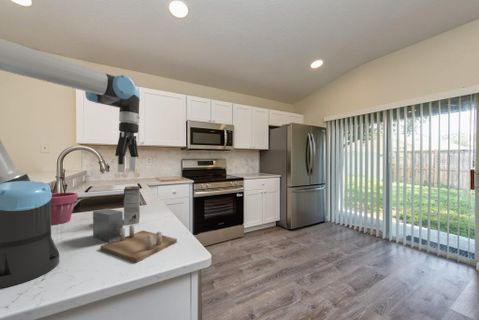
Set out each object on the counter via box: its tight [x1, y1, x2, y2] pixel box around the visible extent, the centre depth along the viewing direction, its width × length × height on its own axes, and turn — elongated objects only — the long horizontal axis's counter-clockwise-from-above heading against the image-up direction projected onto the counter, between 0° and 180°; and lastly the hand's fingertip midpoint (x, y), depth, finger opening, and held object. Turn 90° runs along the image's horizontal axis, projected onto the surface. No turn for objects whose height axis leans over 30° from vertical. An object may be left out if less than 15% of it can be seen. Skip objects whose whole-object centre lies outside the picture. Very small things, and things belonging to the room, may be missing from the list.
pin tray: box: [99, 224, 178, 264], centre depth 70 cm, size 16×18×5 cm
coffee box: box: [123, 185, 141, 226], centre depth 96 cm, size 9×6×16 cm
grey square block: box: [92, 208, 124, 243], centre depth 76 cm, size 5×10×10 cm, turn 63°
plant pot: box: [51, 192, 78, 226], centre depth 94 cm, size 14×14×13 cm
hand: (127, 171), depth 89 cm, fingers open, 13 cm apart
